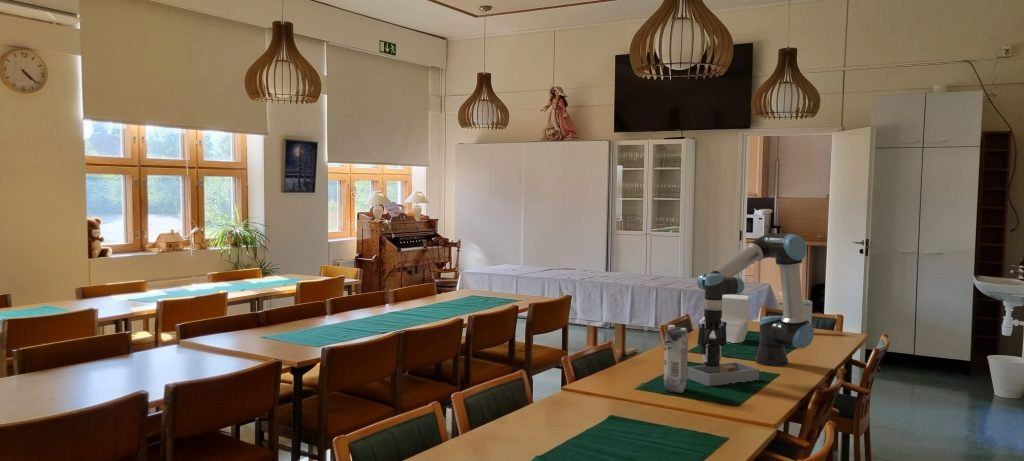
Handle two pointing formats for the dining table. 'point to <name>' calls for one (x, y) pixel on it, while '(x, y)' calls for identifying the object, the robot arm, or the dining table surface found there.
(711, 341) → the supplement bottle
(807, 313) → the hard drive box
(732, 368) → the walnut cube
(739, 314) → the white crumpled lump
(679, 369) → the juice carton
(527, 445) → the dining table surface
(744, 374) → the tote
